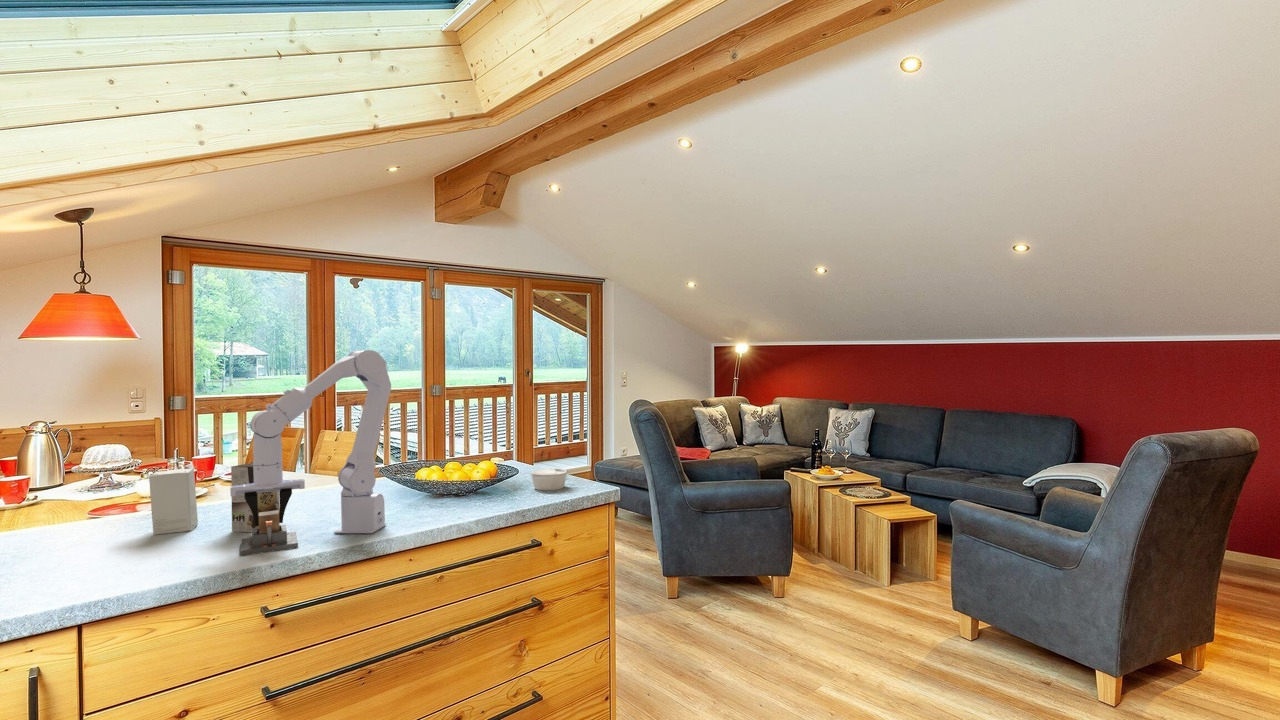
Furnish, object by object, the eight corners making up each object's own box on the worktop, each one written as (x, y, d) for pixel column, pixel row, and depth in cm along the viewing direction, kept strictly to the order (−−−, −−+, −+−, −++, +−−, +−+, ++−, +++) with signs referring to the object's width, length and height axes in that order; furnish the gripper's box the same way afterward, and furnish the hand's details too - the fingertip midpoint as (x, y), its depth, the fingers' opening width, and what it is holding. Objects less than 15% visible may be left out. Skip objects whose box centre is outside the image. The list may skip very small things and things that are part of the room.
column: (279, 536, 150) (279, 510, 150) (280, 541, 146) (279, 513, 146) (259, 539, 148) (258, 512, 148) (259, 544, 144) (258, 516, 144)
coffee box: (253, 532, 158) (252, 466, 158) (230, 531, 159) (229, 466, 159) (281, 523, 167) (279, 460, 167) (259, 522, 168) (258, 459, 168)
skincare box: (198, 525, 165) (196, 467, 165) (190, 531, 160) (189, 471, 159) (158, 529, 162) (157, 470, 162) (150, 535, 157) (148, 474, 156)
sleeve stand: (296, 535, 155) (295, 508, 155) (298, 547, 145) (297, 518, 145) (241, 543, 149) (241, 515, 149) (240, 555, 140) (239, 525, 140)
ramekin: (574, 487, 207) (574, 470, 206) (546, 493, 198) (546, 476, 198) (552, 483, 214) (551, 467, 214) (524, 488, 206) (524, 471, 206)
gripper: (229, 469, 140) (230, 532, 140) (304, 463, 147) (306, 522, 147) (230, 465, 146) (232, 525, 146) (303, 458, 153) (304, 516, 153)
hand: (269, 523), depth 147 cm, fingers closed on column, 4 cm apart
